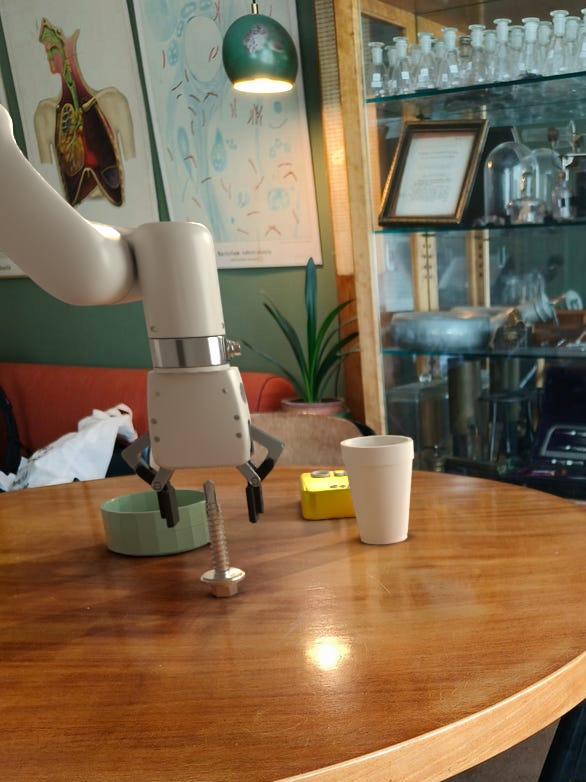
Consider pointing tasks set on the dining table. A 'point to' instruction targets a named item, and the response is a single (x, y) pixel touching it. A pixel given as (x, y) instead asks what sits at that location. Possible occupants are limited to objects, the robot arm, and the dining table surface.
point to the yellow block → (325, 495)
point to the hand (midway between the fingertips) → (214, 521)
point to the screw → (218, 549)
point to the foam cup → (380, 485)
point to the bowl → (154, 524)
